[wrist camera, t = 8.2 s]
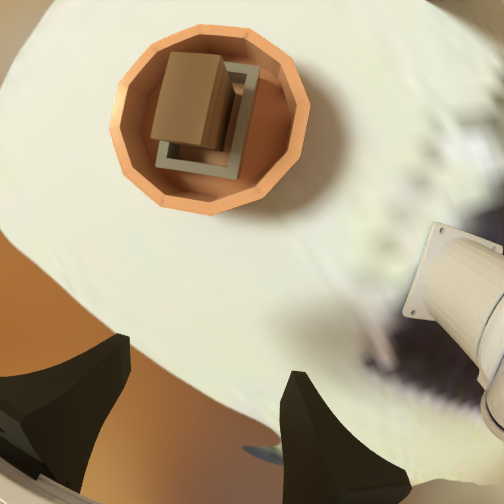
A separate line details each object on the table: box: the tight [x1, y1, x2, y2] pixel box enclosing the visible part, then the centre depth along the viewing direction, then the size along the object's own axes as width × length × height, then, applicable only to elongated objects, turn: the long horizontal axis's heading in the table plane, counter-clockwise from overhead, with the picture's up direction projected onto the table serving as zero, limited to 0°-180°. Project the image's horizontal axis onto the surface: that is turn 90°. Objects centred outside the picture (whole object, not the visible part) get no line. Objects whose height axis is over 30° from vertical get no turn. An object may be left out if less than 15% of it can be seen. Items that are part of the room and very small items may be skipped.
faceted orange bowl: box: [109, 24, 310, 216], centre depth 16 cm, size 11×11×4 cm
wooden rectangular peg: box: [150, 52, 235, 152], centre depth 14 cm, size 2×4×7 cm, turn 169°
